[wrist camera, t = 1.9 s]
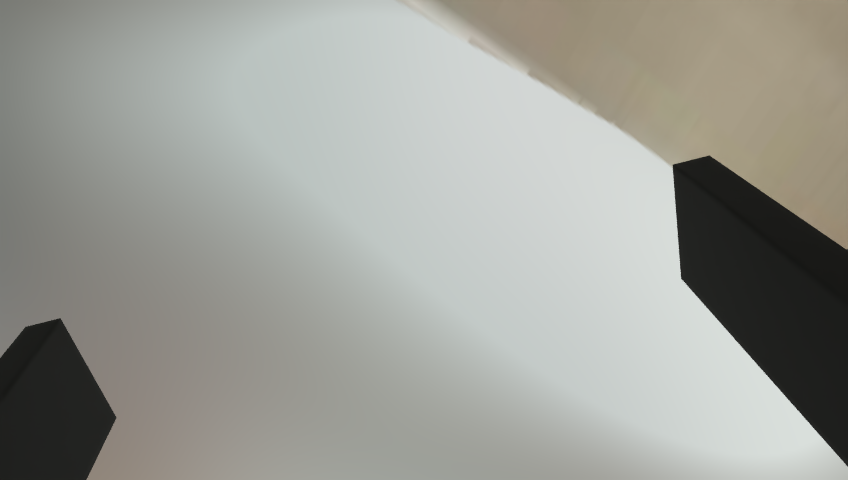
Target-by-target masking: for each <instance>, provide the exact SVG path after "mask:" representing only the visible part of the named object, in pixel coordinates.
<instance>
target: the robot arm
mask: <svg viewBox="0 0 848 480" xmlns="http://www.w3.org/2000/svg"><path fill="white" fill-rule="evenodd" d="M673 175H674V188H675V201H676V215H677V228H678V242H679V255H680V268H681V279H682V280H683V281H684V282H685V283H686V284H687V285H688V286H689V288H690V289H691V290H692V291H693V292H694V293H695V295H696V296H697V297H698V298H699V299H700V300H701V301H702V302H703V303H704V305H705V306H706V307H707V308H708V309H709V310H710V311H711V312H712V314H713V315H714V316H715V317H716V318H717V319H718V320H719V322H720V323H721V324H722V325H723V326H724V327H725V328H726V329H727V330H728V332H729V333H730V334H731V335H732V336H733V337H734V339H735V340H736V341H737V342H738V343H739V344H740V345H741V346H742V348H743V349H744V350H745V351H746V352H747V353H748V354H749V355H750V356H751V358H752V359H753V360H754V361H755V362H756V363H757V364H758V366H759V367H760V368H761V369H762V370H763V371H764V372H765V373H766V375H767V376H768V377H769V378H770V379H771V380H772V381H773V383H774V384H775V385H776V386H777V387H778V388H779V389H780V390H781V392H782V393H783V394H784V395H785V396H786V397H787V398H788V400H790V402H791V403H792V404H793V405H794V406H795V407H796V409H797V410H798V411H799V412H800V413H801V414H802V415H803V416H804V418H805V419H806V420H807V421H808V422H809V423H810V424H811V425H812V427H813V428H814V429H815V430H816V431H817V432H818V433H819V435H820V436H821V437H822V438H823V439H824V440H825V441H826V442H827V444H828V445H829V446H830V447H831V448H832V449H833V450H834V451H835V453H836V454H837V455H838V456H839V457H840V458H841V459H842V460H843V461H844V463H845V464H846V465H847V466H848V249H847V250H846V249H845V248H843V247H842V246H840V245H839V244H837V243H836V242H834V241H833V240H831V239H830V238H829V237H827V236H826V235H824V234H823V233H821V232H820V231H818V230H817V229H815V228H814V227H813V226H811V225H810V224H808V223H807V222H805V221H804V220H802V219H801V218H799V217H798V216H797V215H795V214H794V213H792V212H791V211H789V210H788V209H786V208H785V207H783V206H782V205H780V204H779V203H778V202H776V201H775V200H773V199H772V198H770V197H769V196H767V195H766V194H764V193H763V192H762V191H760V190H759V189H757V188H756V187H754V186H753V185H751V184H750V183H748V182H747V181H746V180H744V179H743V178H741V177H740V176H738V175H737V174H735V173H734V172H732V171H731V170H730V169H728V168H727V167H725V166H724V165H722V164H721V163H719V162H718V161H716V160H715V159H714V158H712V157H711V156H706V157H702V158H698V159H694V160H690V161H686V162H682V163H678V164H674V165H673ZM115 419H116V416H115V414H114V413H113V411H112V409H111V407H110V406H109V404H108V402H107V400H106V398H105V397H104V395H103V393H102V391H101V389H100V388H99V386H98V384H97V383H96V381H95V379H94V377H93V375H92V373H91V372H90V370H89V368H88V366H87V365H86V363H85V361H84V359H83V358H82V356H81V354H80V352H79V350H78V349H77V347H76V345H75V343H74V342H73V340H72V338H71V336H70V334H69V333H68V331H67V329H66V327H65V326H64V324H63V322H62V320H61V319H56V320H52V321H48V322H44V323H40V324H36V325H32V326H28V327H25V328H24V330H23V331H22V332H21V333H20V335H19V336H18V337H17V338H16V339H15V341H14V342H13V343H12V344H11V346H10V347H9V348H8V349H7V351H6V352H5V353H4V354H3V355H2V357H1V358H0V480H86V479H87V477H88V475H89V473H90V471H91V469H92V467H93V465H94V463H95V461H96V459H97V457H98V455H99V453H100V450H101V448H102V446H103V444H104V442H105V440H106V438H107V436H108V434H109V432H110V430H111V428H112V426H113V423H114V422H115Z"/></svg>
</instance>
